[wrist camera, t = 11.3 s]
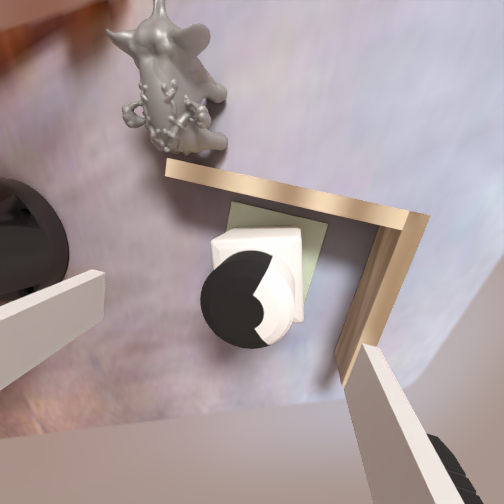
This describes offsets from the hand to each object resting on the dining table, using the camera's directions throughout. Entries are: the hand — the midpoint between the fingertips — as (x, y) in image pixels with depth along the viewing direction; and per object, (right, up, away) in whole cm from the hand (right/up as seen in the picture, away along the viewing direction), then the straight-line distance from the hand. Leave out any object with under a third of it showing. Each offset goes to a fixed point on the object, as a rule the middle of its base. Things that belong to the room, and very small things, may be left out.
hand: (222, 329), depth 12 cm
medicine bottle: (+3, +3, +14) cm, 15 cm away
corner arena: (+3, +2, +14) cm, 15 cm away
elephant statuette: (-5, +19, +12) cm, 23 cm away
